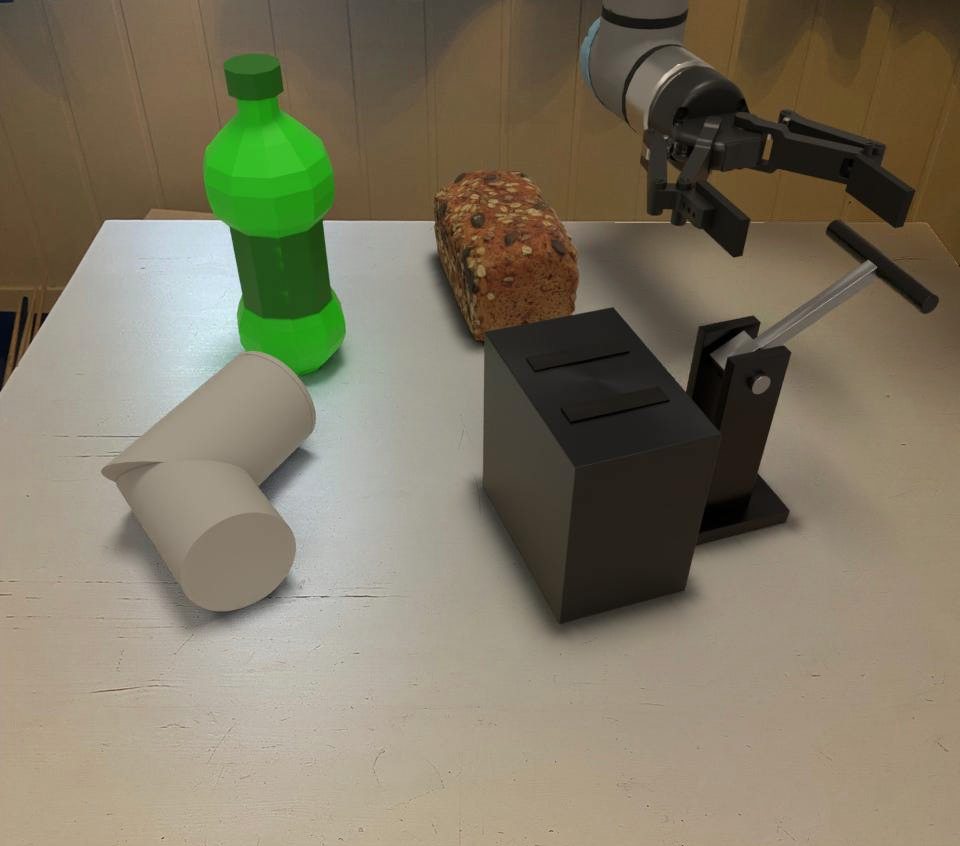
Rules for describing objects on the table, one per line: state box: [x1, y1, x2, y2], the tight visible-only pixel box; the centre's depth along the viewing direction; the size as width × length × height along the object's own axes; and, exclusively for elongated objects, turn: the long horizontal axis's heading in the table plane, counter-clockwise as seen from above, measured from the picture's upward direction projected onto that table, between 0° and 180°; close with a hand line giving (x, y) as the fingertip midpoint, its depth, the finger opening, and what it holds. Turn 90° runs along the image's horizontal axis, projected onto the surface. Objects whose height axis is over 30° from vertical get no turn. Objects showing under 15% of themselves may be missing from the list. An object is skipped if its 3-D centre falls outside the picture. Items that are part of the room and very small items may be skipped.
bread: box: [432, 169, 580, 342], centre depth 95 cm, size 19×11×10 cm, turn 12°
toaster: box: [482, 306, 722, 624], centre depth 70 cm, size 10×16×14 cm, turn 20°
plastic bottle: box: [202, 53, 347, 377], centre depth 81 cm, size 10×10×25 cm
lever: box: [710, 219, 940, 379], centre depth 67 cm, size 13×11×2 cm
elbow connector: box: [100, 351, 317, 612], centre depth 73 cm, size 18×11×20 cm
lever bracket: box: [685, 314, 792, 546], centre depth 72 cm, size 10×8×15 cm
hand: (825, 224), depth 70 cm, fingers open, 13 cm apart
